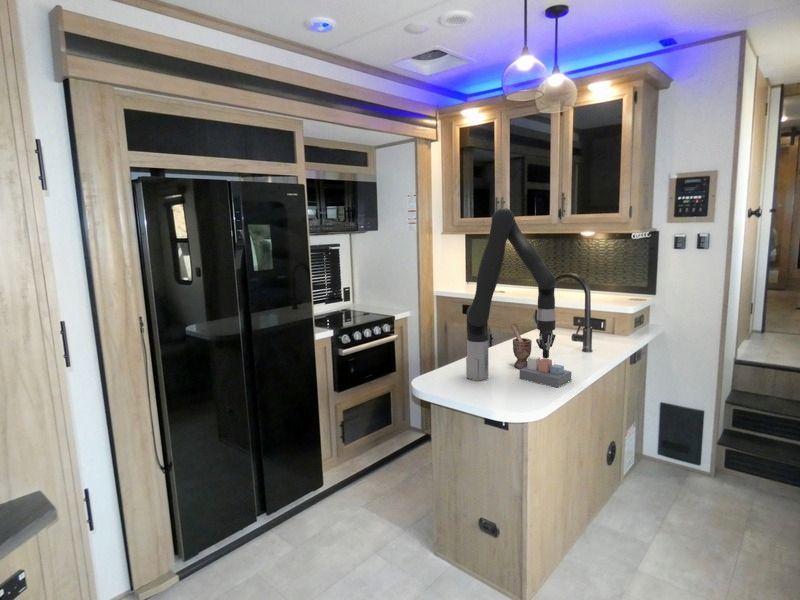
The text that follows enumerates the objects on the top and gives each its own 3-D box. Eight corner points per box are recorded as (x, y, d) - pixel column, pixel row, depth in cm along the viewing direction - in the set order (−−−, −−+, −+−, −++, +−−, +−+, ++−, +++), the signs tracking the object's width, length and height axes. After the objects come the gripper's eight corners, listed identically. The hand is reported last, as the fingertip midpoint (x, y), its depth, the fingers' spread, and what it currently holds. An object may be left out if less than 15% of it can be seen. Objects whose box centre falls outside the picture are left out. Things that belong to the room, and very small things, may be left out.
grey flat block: (557, 387, 197) (557, 378, 196) (519, 378, 210) (519, 369, 209) (571, 380, 205) (571, 371, 205) (533, 372, 218) (533, 363, 217)
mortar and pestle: (503, 365, 229) (503, 325, 226) (513, 361, 235) (514, 322, 232) (524, 370, 221) (525, 328, 218) (534, 366, 227) (535, 325, 223)
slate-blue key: (559, 379, 201) (559, 368, 200) (550, 377, 203) (550, 366, 203) (563, 377, 203) (563, 365, 203) (554, 375, 206) (555, 364, 205)
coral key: (547, 373, 204) (547, 361, 203) (538, 371, 207) (538, 360, 206) (551, 370, 207) (552, 359, 206) (543, 369, 210) (543, 358, 209)
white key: (535, 370, 208) (535, 359, 207) (527, 368, 211) (527, 357, 210) (540, 368, 211) (540, 357, 210) (532, 366, 214) (532, 355, 213)
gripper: (546, 322, 196) (546, 363, 199) (561, 316, 205) (561, 355, 208) (530, 320, 201) (530, 359, 204) (545, 315, 211) (545, 353, 213)
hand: (545, 357), depth 206 cm, fingers closed
